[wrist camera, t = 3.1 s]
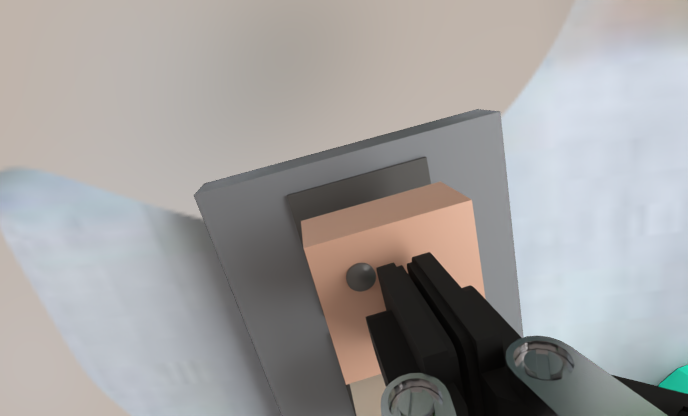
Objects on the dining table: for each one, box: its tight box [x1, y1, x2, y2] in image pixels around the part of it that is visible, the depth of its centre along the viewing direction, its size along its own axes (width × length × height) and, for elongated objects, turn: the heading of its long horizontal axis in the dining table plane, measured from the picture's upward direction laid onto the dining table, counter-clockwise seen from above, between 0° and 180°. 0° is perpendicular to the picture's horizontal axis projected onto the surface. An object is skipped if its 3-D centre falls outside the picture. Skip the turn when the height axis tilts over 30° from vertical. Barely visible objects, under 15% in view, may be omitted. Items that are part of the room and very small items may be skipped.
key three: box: [301, 181, 486, 385], centre depth 13 cm, size 5×5×3 cm
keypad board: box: [194, 109, 523, 416], centre depth 19 cm, size 22×13×2 cm, turn 14°
